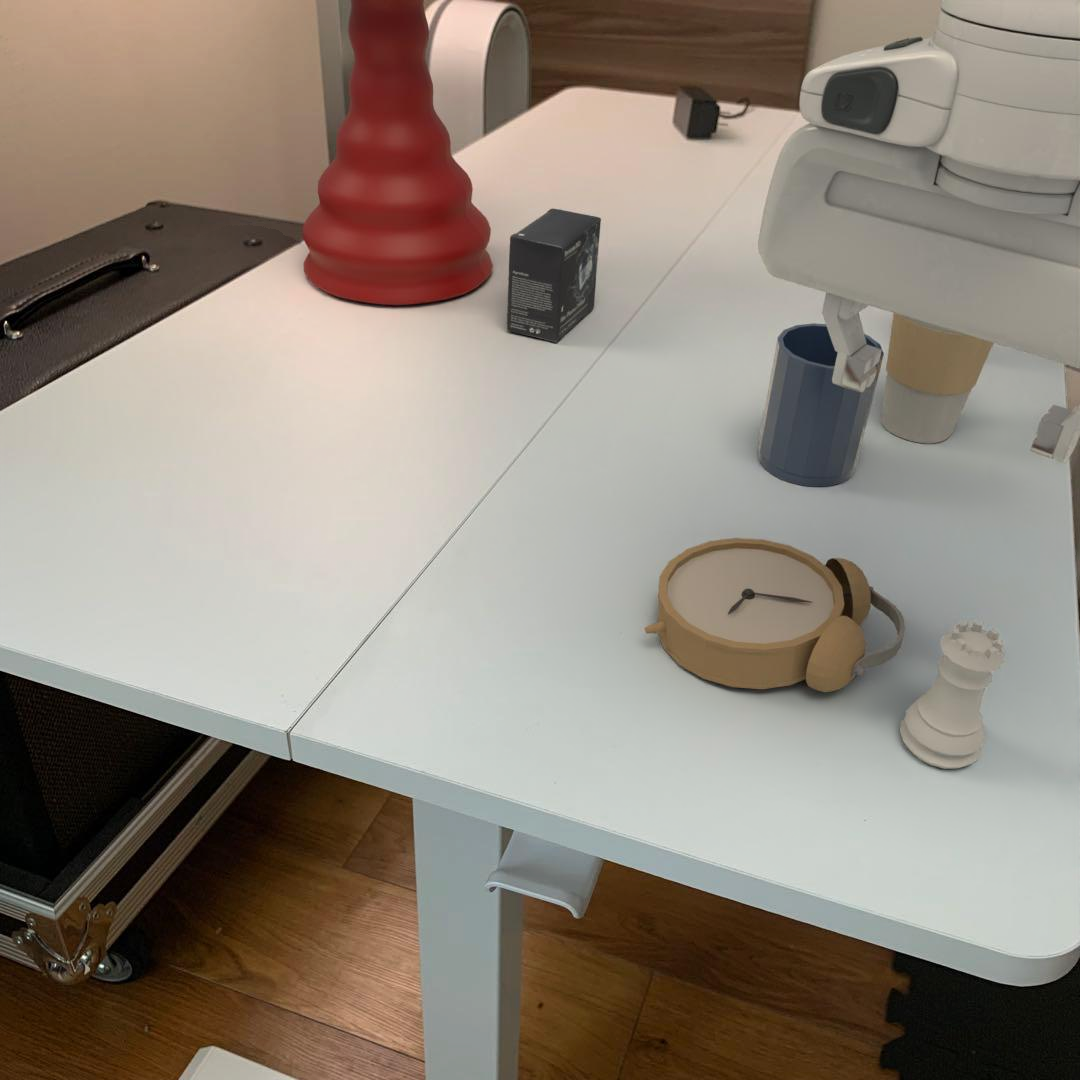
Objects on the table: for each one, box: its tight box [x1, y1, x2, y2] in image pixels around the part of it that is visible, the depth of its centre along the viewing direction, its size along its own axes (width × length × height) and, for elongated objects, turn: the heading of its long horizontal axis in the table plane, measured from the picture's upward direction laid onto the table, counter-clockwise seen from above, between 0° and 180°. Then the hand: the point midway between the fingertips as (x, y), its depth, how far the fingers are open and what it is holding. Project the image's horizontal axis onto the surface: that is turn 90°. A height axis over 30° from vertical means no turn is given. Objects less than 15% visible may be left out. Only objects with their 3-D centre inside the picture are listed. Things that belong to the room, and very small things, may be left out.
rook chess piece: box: [899, 620, 1006, 770], centre depth 58 cm, size 4×4×8 cm
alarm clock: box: [644, 537, 906, 693], centre depth 66 cm, size 11×5×15 cm
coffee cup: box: [880, 313, 994, 444], centre depth 85 cm, size 9×9×15 cm
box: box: [506, 208, 602, 343], centre depth 102 cm, size 9×6×10 cm, turn 155°
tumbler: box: [757, 322, 885, 488], centre depth 82 cm, size 8×8×10 cm
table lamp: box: [302, 0, 494, 306], centre depth 100 cm, size 20×20×45 cm
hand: (947, 417), depth 49 cm, fingers open, 8 cm apart
